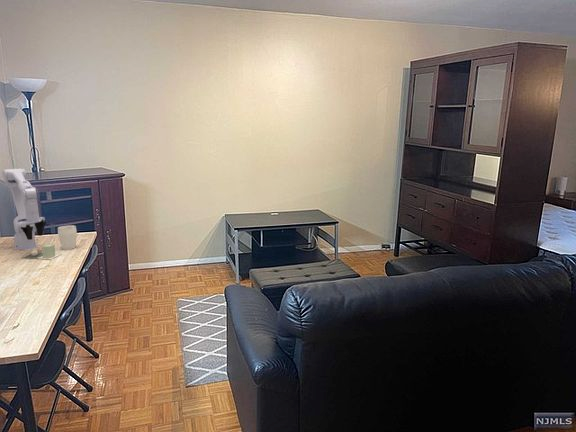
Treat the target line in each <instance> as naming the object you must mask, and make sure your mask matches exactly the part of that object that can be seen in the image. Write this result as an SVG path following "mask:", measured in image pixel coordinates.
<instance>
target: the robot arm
mask: <svg viewBox="0 0 576 432" xmlns="http://www.w3.org/2000/svg"><path fill="white" fill-rule="evenodd" d="M2 178H3V182H4V185H5V186H6V187H8V188H9V190H10V193H11V195H12V198H13V203H14V206H15V210H16V214H17V216H16V217H15V218H14V219H13V228H14V232H15V234H14V236H13V243H14V250H16V251H17V250H18V251H33V250H35V249H36V248H39V247H40V245H36V244H37V243H36V235H35V233H36V234H37V236H39V237H41V236H42V237H43V233H44V229H45V225H46V224H47V222H46V219H45V216H40V213H39V205H38V199H39V191H38V188H37V187H34V186H32V184H31V182H30V180H29V181H28V180H27V172H26V169H25V168H23V167H21V168H8V169H6V168H4V169H3V170H2Z"/></svg>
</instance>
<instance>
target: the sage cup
mask: <svg viewBox="0 0 576 432" xmlns="http://www.w3.org/2000/svg"><path fill="white" fill-rule="evenodd" d="M41 253H42V254H43V258H51V257H54V256H55V254H56V250H55V244H54V243H44V244H42V245H41Z"/></svg>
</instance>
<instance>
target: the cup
mask: <svg viewBox="0 0 576 432" xmlns="http://www.w3.org/2000/svg"><path fill="white" fill-rule="evenodd" d="M77 233H78V231H77V226H76V225H74V224H73V225H72V224H69V225H63V226H62V225H61V226H59V227H57V235H58V239H59V242H60V245H61V249H62V250H72V249H76V246H77Z"/></svg>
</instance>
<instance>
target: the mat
mask: <svg viewBox="0 0 576 432" xmlns="http://www.w3.org/2000/svg"><path fill="white" fill-rule="evenodd" d="M61 256H63V254H62V253H61V254H60V253H55V256H54V257H51V258H43V254H42V252H38V254H37V255H36V256H32V255H31V253H30V254H27V255H25V256H23V257H22V259H29V260H45V261H52V260H53V259H55V258H59V257H61Z"/></svg>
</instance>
